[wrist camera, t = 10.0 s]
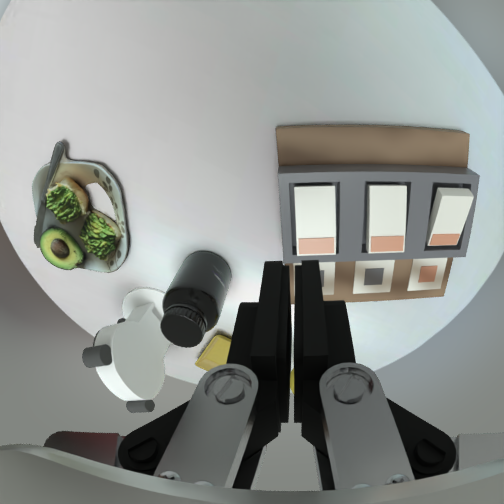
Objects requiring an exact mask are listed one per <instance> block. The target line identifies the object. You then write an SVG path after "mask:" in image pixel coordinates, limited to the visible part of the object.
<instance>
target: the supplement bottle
mask: <svg viewBox="0 0 504 504" xmlns="http://www.w3.org/2000/svg"><path fill="white" fill-rule="evenodd" d="M230 281H231V272H230V269H229V267H228V265H227V263H226V262H225V261H224V260H223V259H222V258H221V257H219V256H218V255H216V254H214V253H211V252H205V251H202V252H196V253H193V254H191V255H190V256H188V257H187V258H186V259H185V260H184V262H183V264H182V265H181V267H180V269H179V270H178V272H177V274H176V276H175V277H174V279H173V281H172V282H171V284H170V286H169V288H168V290H167V291H166V293H165V295H164V297H163V301H162V308H163V312H164V315H163V318H162V320H161V323H160V328H161V332H162V334H163V335H164V337H165V338H166V339H167V340H168V341H170V342H171V343H173V344H175V345H177V346H181V347H186V348H187V347H194V346H197V345H198V344H200V342H201V341H202V339H203V337H204V334H205V332H207V331H209V330H211V329H212V328H213V327H214V326H215V325H216V324H217V322H218V320H219V317H220V314H221V311H222V308H223V305H224V301H225V298H226V295H227V292H228V289H229V285H230Z"/></svg>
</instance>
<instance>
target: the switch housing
mask: <svg viewBox="0 0 504 504" xmlns="http://www.w3.org/2000/svg"><path fill="white" fill-rule="evenodd" d="M479 176H480V175H478V174H476V173H475V172H473V171H472V170H470V169H468V168H464V167H448V166H428V165H397V164H328V165H295V166H279V168H278V184H279V198H280V213H281V228H282V245H283V262H284V263H301V260H319V262H347V261H376V260H402V259H427V258H451V257H466V252H467V248H468V243H469V238H470V233H471V228H472V223H473V217H474V211H475V205H476V199H477V192H478V184H479ZM367 184H404V185H406V186H407V204H406V231H405V248H404V252H397V253H368V252H367V250H366V230H367ZM299 185H334V186H335V208H336V255H307V256H297V240H296V215H295V194H294V186H299ZM438 188H466V189H469V190H470V191H471V193H472V194H473V196H474V198H473V201H472V204H471V207H470V210H469V213H468V216H467V219H466V221H465V224H464V227H463V230H462V232H461V235H460V237H459V240H458V243H457V245H440V246H427V243H426V235H427V228H428V222H429V219H430V215H431V212H432V208H433V204H434V200H435V197H436V193H437V189H438Z"/></svg>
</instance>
